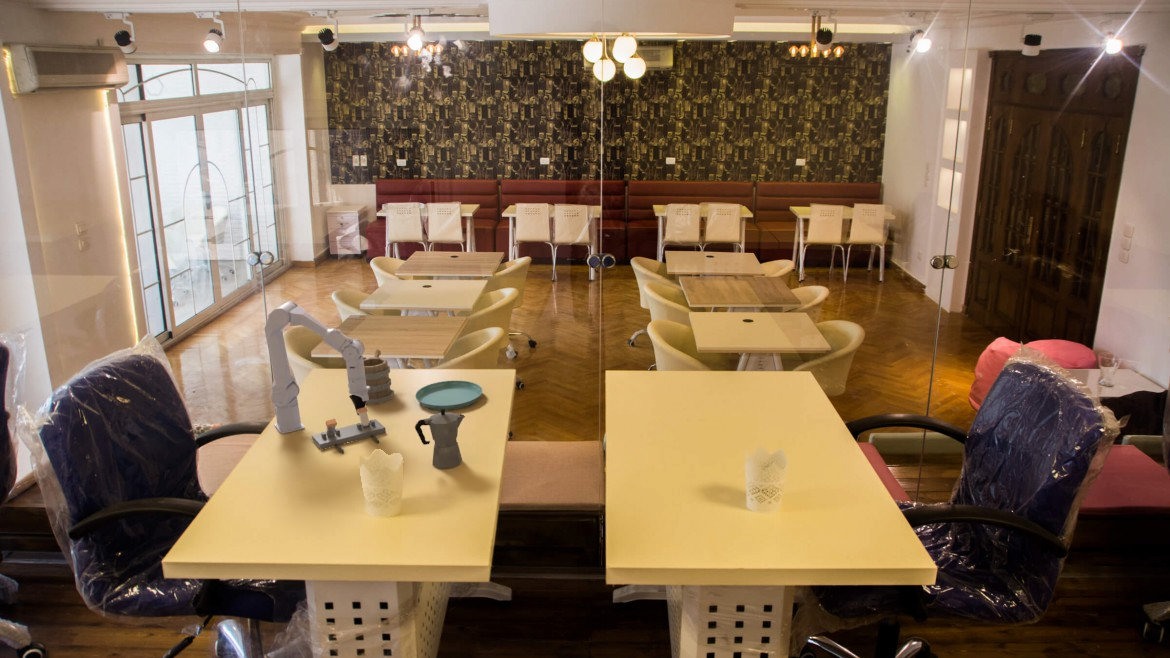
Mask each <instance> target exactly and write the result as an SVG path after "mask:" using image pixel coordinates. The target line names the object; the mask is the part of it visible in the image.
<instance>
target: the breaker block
mask: <svg viewBox="0 0 1170 658" xmlns="http://www.w3.org/2000/svg"><path fill="white" fill-rule="evenodd" d="M369 422H370V426H368V427H364V428H363V427H362V424H361V422H358V423H356V424H351V425H348V426H342V427H338V428H335V435H332V436H328V437H327V434H326V433H327V431H322V432H319V433H314V434H312V435H311V440H313V441H312V442H313V443H314V444H315V446H317V448H320V449H321V450H320V449H319V450H320V451H323V450H326V449H325V448H327V449H330V448H329V447H331V448H333V447H332V446H334V447H335V448H336V449H337V450H338V451H339V452H340V453H341V454H343V453H344V451H345V450H344V449H343V448H342V447H341V446H342V445H344V443H346V444H348V443H347V442H350V443H352V442H351V441H354V442H356V440H357V441H360V440H361V441H362V440H365V439H368V438H371V439H372V440H373V441H374V442H375V443H376V444H380V440H379V439H378V438H377V436H380V435H383V434H384V435H385V434H387V432H386V431H387V430H386V427H385V426H384V425H383V424H382V423H381V422H379V421H378V420H377V419H371V420H370V419H369ZM341 444H342V445H341ZM322 449H323V450H322Z"/></svg>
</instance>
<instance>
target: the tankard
mask: <svg viewBox="0 0 1170 658" xmlns="http://www.w3.org/2000/svg"><path fill="white" fill-rule="evenodd" d="M381 355H382V351H381V350H380V349H375V352H374V356H373V357H370V358H365V359H363V362H364V369H365V378H366V386H369V387H370V389H369V390H367V394H368V396H369V400H367V401H366V404H365V405H379V404H383V403H385V402H389V401H391V400H392V399H393V398H394V396H395V390H393V389H391V386H392V379H391V378H390V375H389V374H390V372H391V368H390V367H391V366H390V365H388V360H387V359H384V358H383V357H380V356H381Z"/></svg>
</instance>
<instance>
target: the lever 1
mask: <svg viewBox="0 0 1170 658" xmlns="http://www.w3.org/2000/svg"><path fill="white" fill-rule="evenodd" d="M337 424H338V423H337V420H336V418H333V419H329V420H326V421H325V426H326V432H327V433H326V434H327V437H328V436H332V435H335V429H336V426H337Z"/></svg>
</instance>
